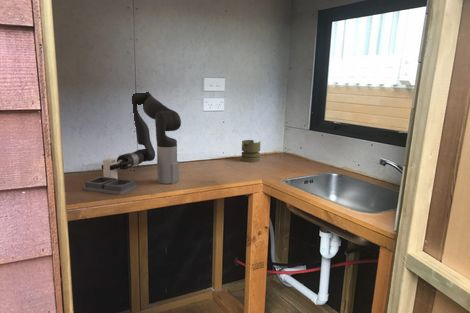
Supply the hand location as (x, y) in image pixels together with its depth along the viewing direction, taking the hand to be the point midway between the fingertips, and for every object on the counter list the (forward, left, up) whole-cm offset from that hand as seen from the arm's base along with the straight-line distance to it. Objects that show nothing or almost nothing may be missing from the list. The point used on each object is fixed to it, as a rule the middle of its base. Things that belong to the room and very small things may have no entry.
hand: (106, 167), depth 171 cm
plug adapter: (0, -3, -7) cm, 7 cm away
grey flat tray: (-9, +9, -7) cm, 14 cm away
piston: (-49, -74, -7) cm, 89 cm away
